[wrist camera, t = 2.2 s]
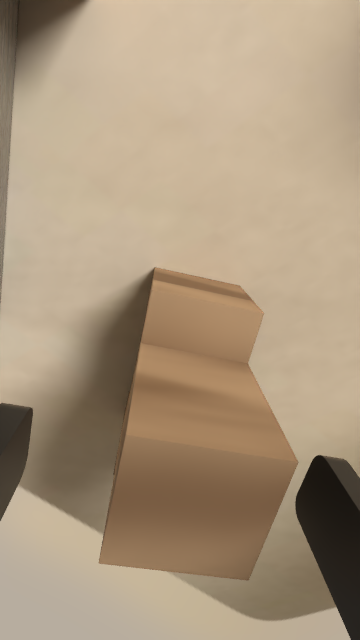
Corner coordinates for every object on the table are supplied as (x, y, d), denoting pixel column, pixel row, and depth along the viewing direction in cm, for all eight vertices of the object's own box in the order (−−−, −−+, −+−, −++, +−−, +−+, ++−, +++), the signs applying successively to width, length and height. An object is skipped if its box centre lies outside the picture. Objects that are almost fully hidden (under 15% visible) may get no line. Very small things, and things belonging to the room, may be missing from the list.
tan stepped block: (200, 428, 18) (231, 628, 10) (124, 416, 18) (87, 614, 9) (242, 286, 16) (334, 388, 7) (154, 267, 15) (143, 352, 7)
